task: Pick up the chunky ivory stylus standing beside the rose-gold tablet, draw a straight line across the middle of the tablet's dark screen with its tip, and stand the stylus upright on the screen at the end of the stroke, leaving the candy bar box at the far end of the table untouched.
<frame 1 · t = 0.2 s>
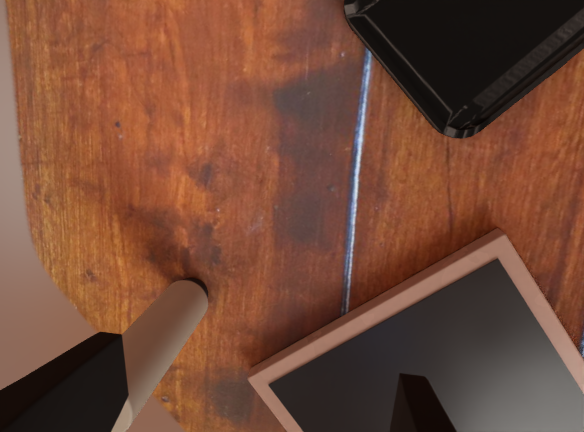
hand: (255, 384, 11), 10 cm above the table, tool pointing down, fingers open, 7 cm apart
stylus: (193, 292, 23), on the table
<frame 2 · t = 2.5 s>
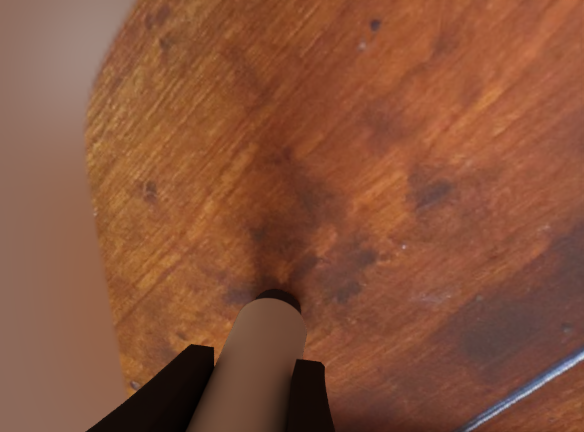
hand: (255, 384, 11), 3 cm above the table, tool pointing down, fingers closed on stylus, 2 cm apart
stylus: (277, 309, 15), on the table, touching gripper
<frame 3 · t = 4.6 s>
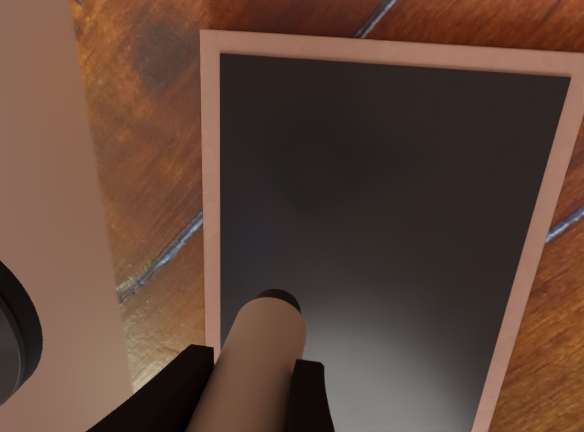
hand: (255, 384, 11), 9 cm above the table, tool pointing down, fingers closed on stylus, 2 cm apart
tablet: (358, 275, 20), on the table
stylus: (276, 308, 14), point 6 cm above the table, touching gripper
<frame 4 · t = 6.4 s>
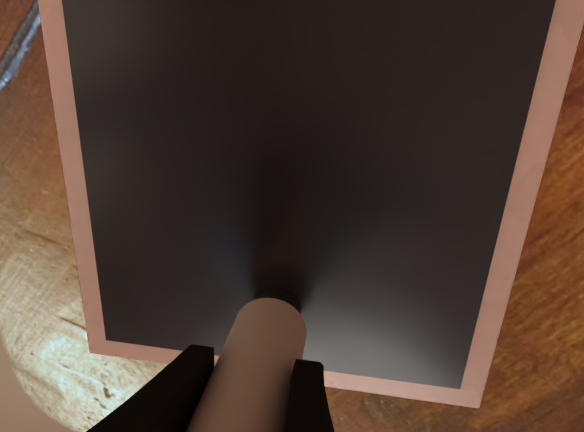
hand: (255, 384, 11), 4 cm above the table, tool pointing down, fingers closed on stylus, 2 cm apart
tablet: (292, 84, 13), on the table
stylus: (276, 309, 15), point 1 cm above the table, touching gripper, tablet
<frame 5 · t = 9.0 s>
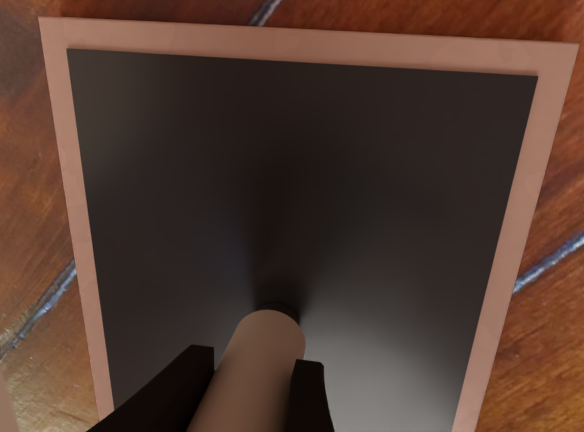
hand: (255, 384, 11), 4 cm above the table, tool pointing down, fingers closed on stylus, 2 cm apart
tablet: (281, 329, 16), on the table
stylus: (275, 323, 15), point 1 cm above the table, touching gripper
when the fingers open (4 cm above the table, at t = 10.7 s): stylus stays where it is, resting on tablet.
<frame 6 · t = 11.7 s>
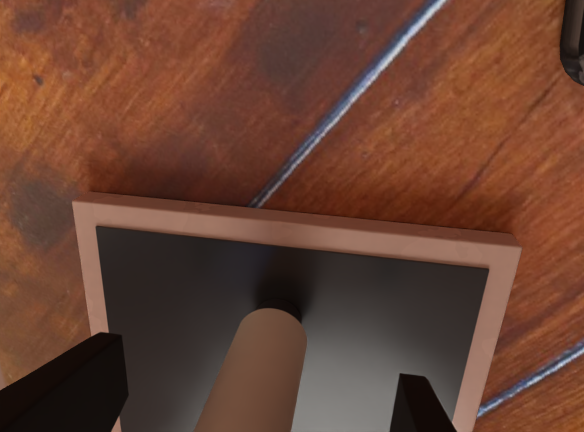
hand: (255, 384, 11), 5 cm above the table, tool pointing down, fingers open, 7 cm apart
stylus: (278, 318, 15), point 1 cm above the table, touching tablet
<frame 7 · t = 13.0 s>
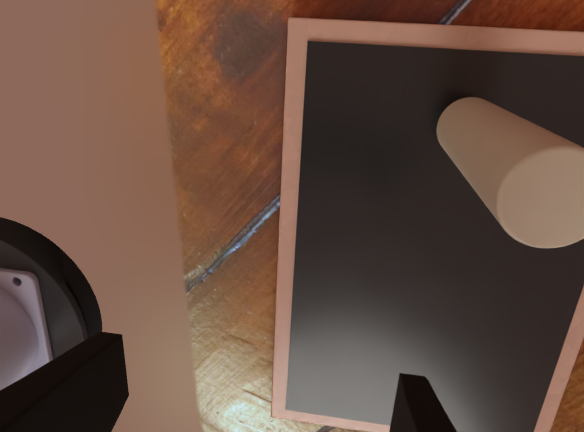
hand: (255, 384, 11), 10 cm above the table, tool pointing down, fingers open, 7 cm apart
tablet: (429, 260, 21), on the table
stylus: (461, 123, 17), point 1 cm above the table, touching tablet
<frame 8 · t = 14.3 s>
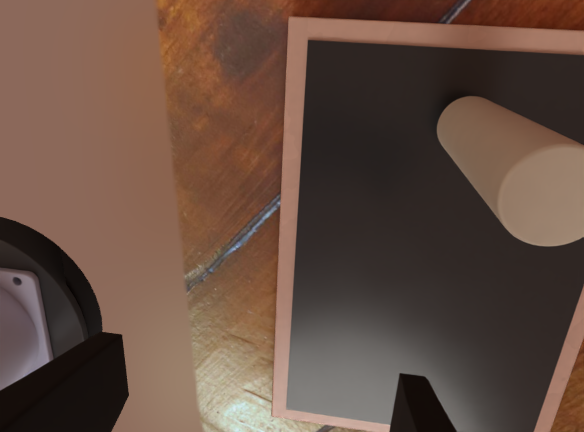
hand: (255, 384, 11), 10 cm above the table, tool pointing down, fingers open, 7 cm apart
tablet: (430, 260, 21), on the table
stylus: (462, 122, 17), point 1 cm above the table, touching tablet
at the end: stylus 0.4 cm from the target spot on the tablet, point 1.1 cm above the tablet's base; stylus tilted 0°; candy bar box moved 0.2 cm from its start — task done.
